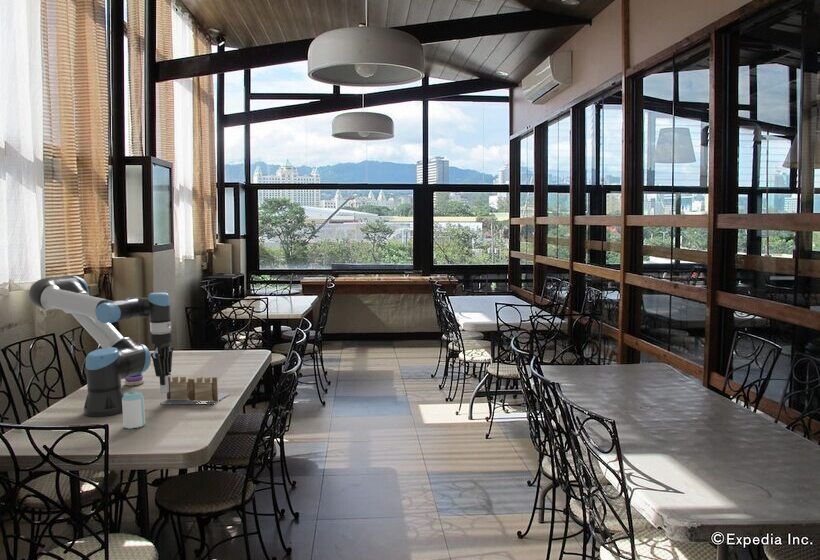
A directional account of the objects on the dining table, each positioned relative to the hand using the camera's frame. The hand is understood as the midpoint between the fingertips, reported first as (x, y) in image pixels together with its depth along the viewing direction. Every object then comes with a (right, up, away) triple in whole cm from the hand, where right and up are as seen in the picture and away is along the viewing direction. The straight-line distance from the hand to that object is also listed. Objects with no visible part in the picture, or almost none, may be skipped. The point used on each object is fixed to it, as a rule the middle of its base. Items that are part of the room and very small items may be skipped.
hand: (164, 392), depth 261 cm
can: (-1, -8, -26) cm, 27 cm away
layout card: (+9, -4, +9) cm, 13 cm away
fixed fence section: (+14, -4, +5) cm, 15 cm away
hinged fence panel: (+3, -4, +7) cm, 8 cm away
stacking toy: (-27, -3, +36) cm, 45 cm away
